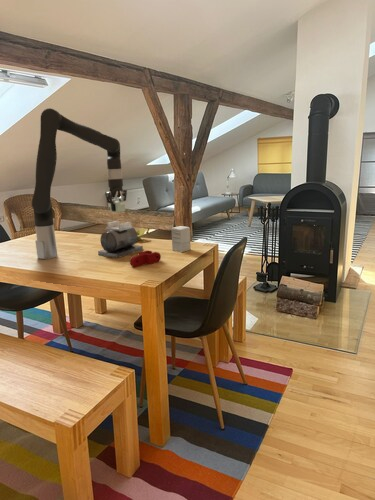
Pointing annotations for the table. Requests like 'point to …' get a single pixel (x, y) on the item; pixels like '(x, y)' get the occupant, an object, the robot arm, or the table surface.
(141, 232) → the plastic component
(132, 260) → the mechanical linkage
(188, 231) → the supplement box
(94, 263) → the table surface
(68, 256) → the table surface
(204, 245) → the table surface
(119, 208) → the pale green block
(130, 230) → the motor
